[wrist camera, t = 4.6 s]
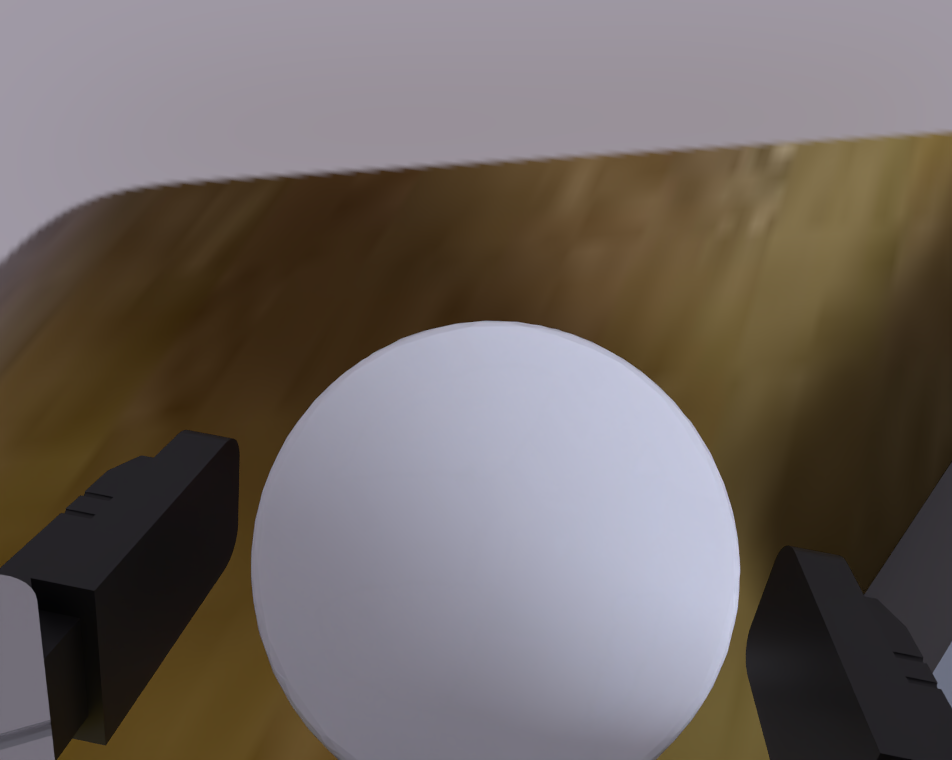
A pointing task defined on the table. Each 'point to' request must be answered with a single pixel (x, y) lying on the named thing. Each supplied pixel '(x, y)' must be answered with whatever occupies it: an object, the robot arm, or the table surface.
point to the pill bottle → (495, 554)
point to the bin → (924, 582)
